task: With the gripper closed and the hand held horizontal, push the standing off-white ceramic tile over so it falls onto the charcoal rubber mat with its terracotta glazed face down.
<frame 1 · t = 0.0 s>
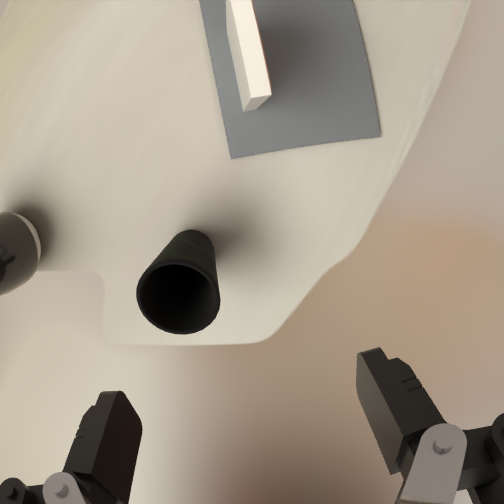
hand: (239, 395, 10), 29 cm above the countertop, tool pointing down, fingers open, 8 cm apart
mat: (292, 63, 31), on the countertop
cup: (191, 251, 39), on the countertop
tile: (241, 69, 31), point 1 cm above the countertop, touching mat
pump dispenser: (24, 239, 37), on the countertop
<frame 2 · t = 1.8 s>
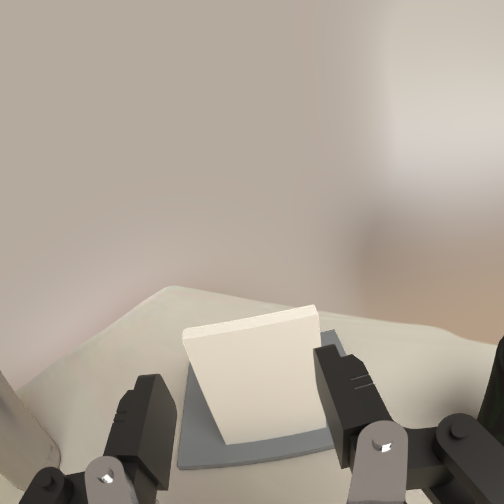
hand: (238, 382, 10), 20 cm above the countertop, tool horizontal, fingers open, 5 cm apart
mat: (270, 396, 34), on the countertop
cup: (491, 447, 19), on the countertop
tile: (275, 432, 28), point 1 cm above the countertop, touching mat
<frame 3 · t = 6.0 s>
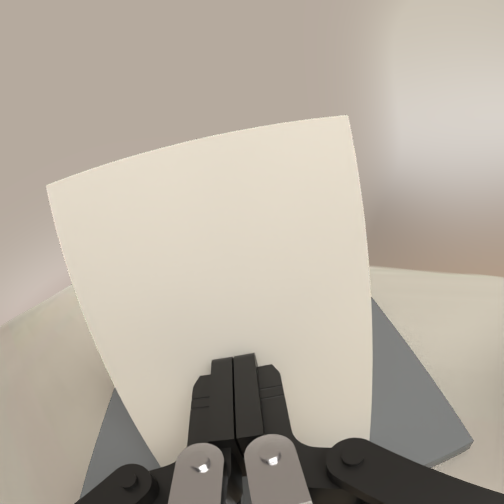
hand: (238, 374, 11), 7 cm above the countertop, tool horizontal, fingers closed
mat: (258, 387, 19), on the countertop
tile: (265, 456, 13), point 1 cm above the countertop, tilted 6°, touching mat
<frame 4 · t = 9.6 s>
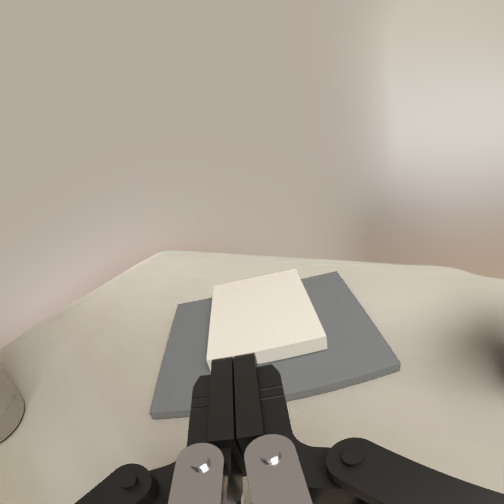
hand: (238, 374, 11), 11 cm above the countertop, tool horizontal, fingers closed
mat: (265, 337, 31), on the countertop
tile: (267, 355, 25), point 2 cm above the countertop, tilted 90°, touching mat
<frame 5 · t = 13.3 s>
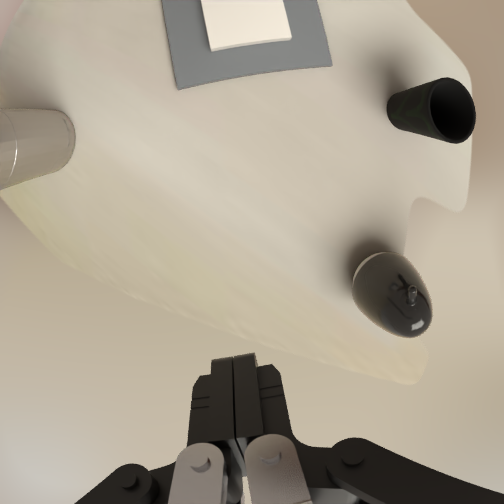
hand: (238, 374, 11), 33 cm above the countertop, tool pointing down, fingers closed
mat: (243, 14, 33), on the countertop
cup: (402, 111, 39), on the countertop
tile: (251, 43, 33), point 2 cm above the countertop, tilted 90°, touching mat
pump dispenser: (373, 273, 47), on the countertop
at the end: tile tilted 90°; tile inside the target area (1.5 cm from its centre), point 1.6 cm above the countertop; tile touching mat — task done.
